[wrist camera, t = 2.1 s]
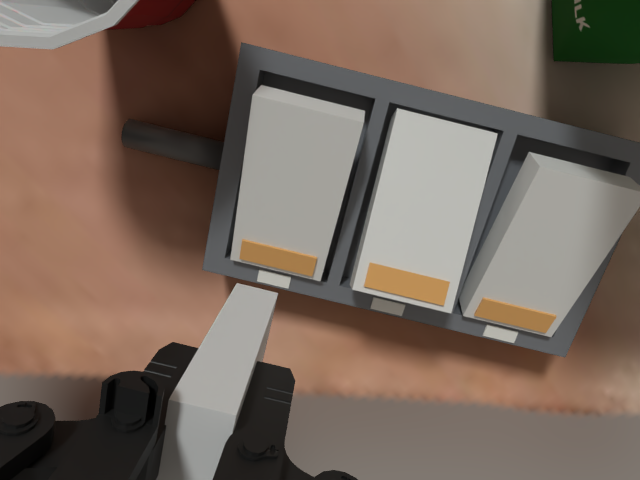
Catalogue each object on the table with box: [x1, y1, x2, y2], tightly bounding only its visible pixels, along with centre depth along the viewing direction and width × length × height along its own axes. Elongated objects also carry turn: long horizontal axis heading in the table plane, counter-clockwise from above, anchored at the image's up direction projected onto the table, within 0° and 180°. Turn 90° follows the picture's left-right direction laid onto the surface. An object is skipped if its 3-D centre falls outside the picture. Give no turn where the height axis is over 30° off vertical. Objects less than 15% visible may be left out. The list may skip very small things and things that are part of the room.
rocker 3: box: [459, 152, 640, 337], centre depth 23 cm, size 5×9×2 cm, turn 167°
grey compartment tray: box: [122, 42, 640, 357], centre depth 26 cm, size 27×12×4 cm, turn 77°
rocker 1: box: [230, 85, 365, 281], centre depth 23 cm, size 5×9×2 cm, turn 167°
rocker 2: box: [350, 108, 498, 313], centre depth 23 cm, size 5×9×2 cm, turn 167°
